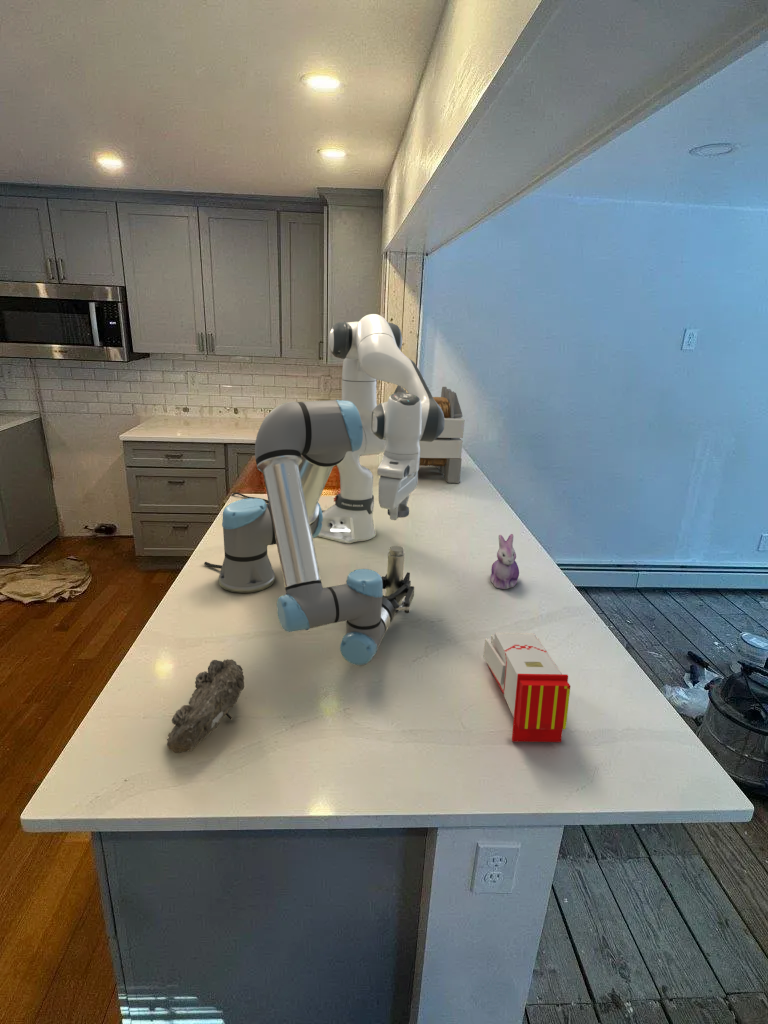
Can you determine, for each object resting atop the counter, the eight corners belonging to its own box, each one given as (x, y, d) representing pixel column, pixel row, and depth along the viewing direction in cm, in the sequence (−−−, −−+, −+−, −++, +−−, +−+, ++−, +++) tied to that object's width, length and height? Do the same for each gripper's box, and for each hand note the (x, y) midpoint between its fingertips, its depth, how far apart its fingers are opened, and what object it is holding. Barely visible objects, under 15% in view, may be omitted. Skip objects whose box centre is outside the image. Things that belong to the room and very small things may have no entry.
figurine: (502, 593, 161) (508, 544, 156) (480, 578, 169) (486, 531, 164) (528, 587, 165) (535, 539, 160) (505, 572, 173) (511, 527, 168)
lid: (392, 509, 146) (392, 502, 145) (412, 512, 144) (412, 506, 143) (384, 515, 141) (384, 509, 141) (404, 519, 139) (404, 512, 139)
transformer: (382, 463, 289) (386, 382, 275) (445, 464, 293) (451, 384, 279) (390, 482, 257) (394, 392, 243) (460, 483, 261) (468, 394, 247)
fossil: (192, 660, 117) (244, 628, 112) (224, 691, 120) (276, 661, 115) (142, 746, 98) (202, 712, 93) (182, 779, 101) (242, 748, 96)
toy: (532, 616, 130) (580, 681, 101) (527, 670, 133) (572, 749, 103) (479, 615, 129) (512, 680, 100) (475, 669, 132) (506, 748, 103)
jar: (394, 611, 148) (398, 553, 143) (381, 606, 151) (385, 548, 145) (404, 606, 152) (408, 548, 146) (391, 600, 154) (394, 543, 148)
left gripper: (340, 624, 136) (368, 582, 157) (410, 637, 132) (429, 593, 153) (340, 597, 133) (369, 558, 155) (412, 609, 129) (431, 567, 151)
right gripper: (402, 450, 148) (399, 500, 153) (374, 470, 130) (372, 526, 134) (425, 454, 146) (421, 504, 151) (400, 474, 128) (397, 530, 133)
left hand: (399, 575), depth 154 cm, fingers closed on jar, 4 cm apart
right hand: (398, 515), depth 142 cm, fingers closed on lid, 5 cm apart
